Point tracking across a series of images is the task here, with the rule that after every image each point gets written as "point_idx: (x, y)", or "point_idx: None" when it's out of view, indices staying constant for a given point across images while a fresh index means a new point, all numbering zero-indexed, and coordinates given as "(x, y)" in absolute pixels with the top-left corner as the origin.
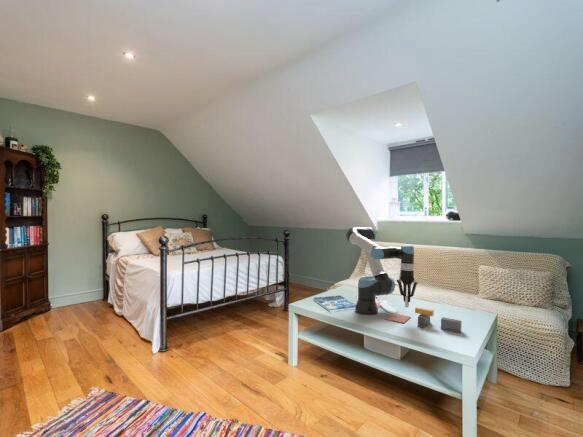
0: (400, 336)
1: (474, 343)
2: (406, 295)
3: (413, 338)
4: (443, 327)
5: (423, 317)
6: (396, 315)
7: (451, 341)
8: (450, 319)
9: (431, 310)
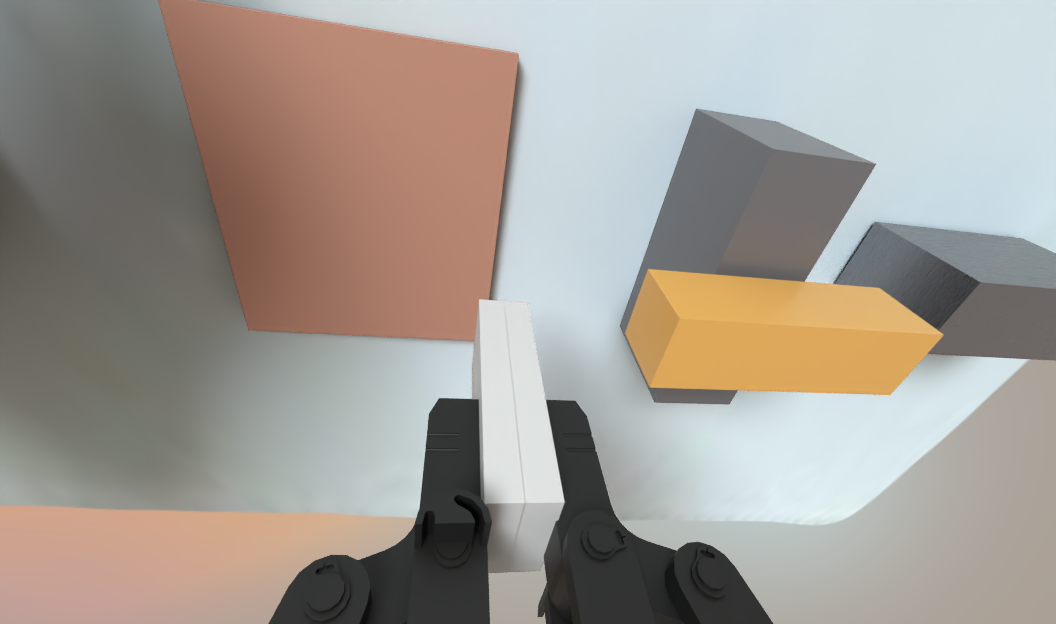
0: None
1: (959, 405)
2: (480, 506)
3: None
4: None
5: (716, 395)
6: (299, 122)
7: (818, 444)
8: (1033, 318)
9: (897, 364)
